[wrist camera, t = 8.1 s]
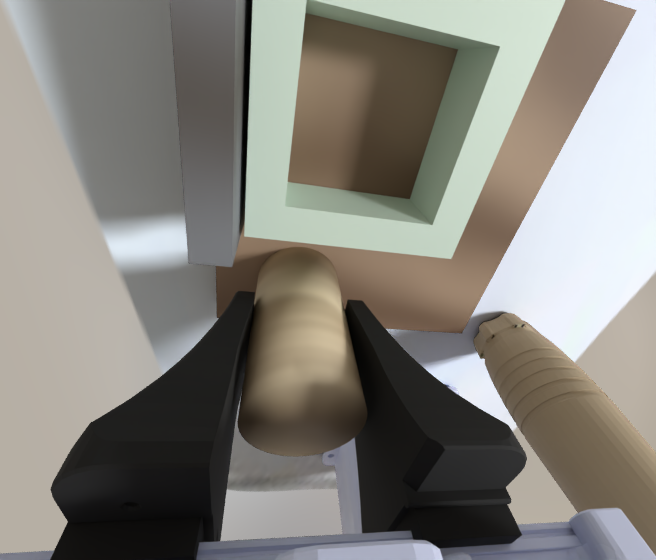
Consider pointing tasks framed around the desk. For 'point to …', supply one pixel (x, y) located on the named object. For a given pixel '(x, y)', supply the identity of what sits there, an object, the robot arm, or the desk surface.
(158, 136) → the desk surface
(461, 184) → the collar block
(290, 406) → the dowel
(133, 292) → the desk surface
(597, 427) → the handle
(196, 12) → the board
